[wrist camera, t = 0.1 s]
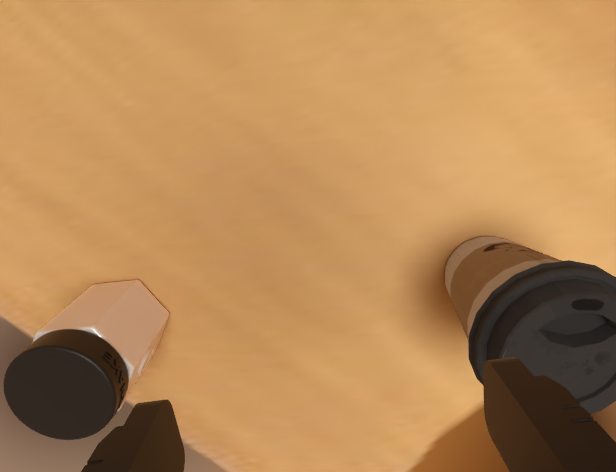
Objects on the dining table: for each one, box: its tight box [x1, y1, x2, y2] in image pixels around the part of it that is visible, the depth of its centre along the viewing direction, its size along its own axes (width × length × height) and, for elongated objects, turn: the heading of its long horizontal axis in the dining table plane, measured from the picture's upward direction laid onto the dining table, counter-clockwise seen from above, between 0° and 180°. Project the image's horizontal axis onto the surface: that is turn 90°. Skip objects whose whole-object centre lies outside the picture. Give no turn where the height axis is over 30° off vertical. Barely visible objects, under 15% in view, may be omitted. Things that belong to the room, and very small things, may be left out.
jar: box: [4, 280, 170, 440], centre depth 37 cm, size 9×8×12 cm
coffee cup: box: [445, 236, 616, 414], centre depth 34 cm, size 11×11×15 cm
